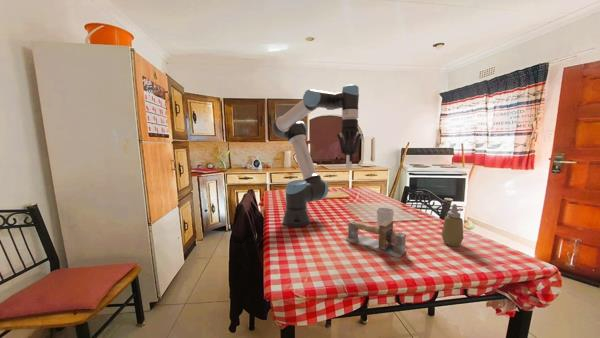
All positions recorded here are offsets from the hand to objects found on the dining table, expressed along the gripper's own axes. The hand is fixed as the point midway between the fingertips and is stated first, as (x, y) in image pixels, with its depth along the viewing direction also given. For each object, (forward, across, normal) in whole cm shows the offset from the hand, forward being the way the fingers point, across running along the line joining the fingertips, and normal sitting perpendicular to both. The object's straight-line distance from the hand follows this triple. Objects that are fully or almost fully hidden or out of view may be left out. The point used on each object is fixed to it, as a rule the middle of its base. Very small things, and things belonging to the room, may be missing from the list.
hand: (348, 168), depth 110 cm
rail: (+32, +17, -6) cm, 37 cm away
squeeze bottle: (+33, +42, +18) cm, 56 cm away
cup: (+33, +15, +10) cm, 37 cm away
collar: (+31, +22, -6) cm, 38 cm away
